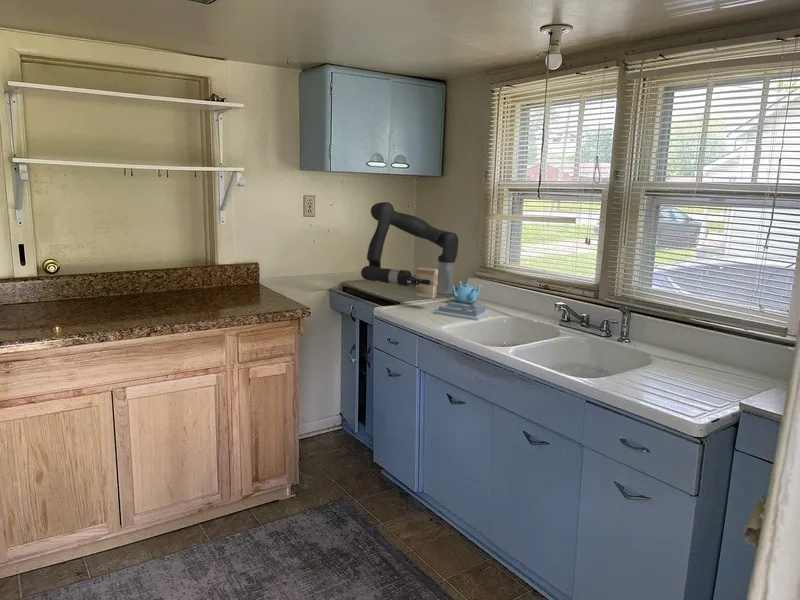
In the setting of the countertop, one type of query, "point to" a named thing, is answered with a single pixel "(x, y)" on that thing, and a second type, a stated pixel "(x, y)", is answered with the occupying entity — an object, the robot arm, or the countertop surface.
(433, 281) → the wooden block
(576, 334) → the countertop surface
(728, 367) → the countertop surface
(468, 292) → the teapot
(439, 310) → the grey stepped platform
